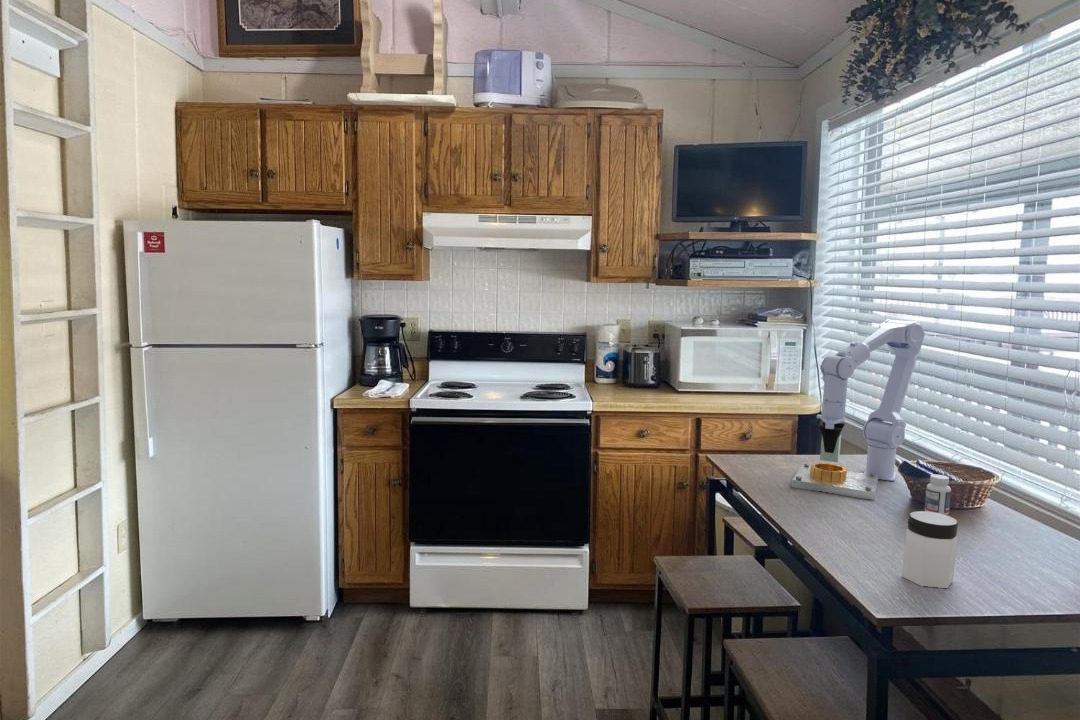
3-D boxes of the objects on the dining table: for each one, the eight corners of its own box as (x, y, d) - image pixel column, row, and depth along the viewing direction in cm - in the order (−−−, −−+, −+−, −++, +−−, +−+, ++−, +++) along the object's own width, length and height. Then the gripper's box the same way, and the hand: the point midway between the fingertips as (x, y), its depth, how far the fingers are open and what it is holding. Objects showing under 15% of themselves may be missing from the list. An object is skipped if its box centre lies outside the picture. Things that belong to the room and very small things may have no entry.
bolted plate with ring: (801, 471, 214) (802, 455, 213) (877, 482, 205) (879, 466, 204) (791, 487, 198) (792, 470, 197) (873, 500, 189) (875, 482, 188)
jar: (909, 566, 147) (915, 507, 145) (956, 578, 142) (962, 517, 140) (897, 580, 140) (902, 518, 139) (945, 593, 135) (952, 529, 133)
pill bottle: (943, 509, 183) (946, 474, 182) (952, 516, 178) (956, 480, 177) (920, 508, 183) (924, 472, 182) (929, 515, 178) (933, 479, 177)
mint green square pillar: (821, 456, 204) (824, 426, 203) (839, 458, 202) (841, 429, 201) (819, 459, 200) (822, 429, 199) (837, 462, 198) (840, 432, 197)
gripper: (821, 395, 207) (817, 442, 209) (814, 403, 194) (810, 454, 196) (849, 397, 204) (845, 446, 206) (843, 406, 191) (839, 457, 193)
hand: (830, 450), depth 201 cm, fingers closed on mint green square pillar, 4 cm apart
